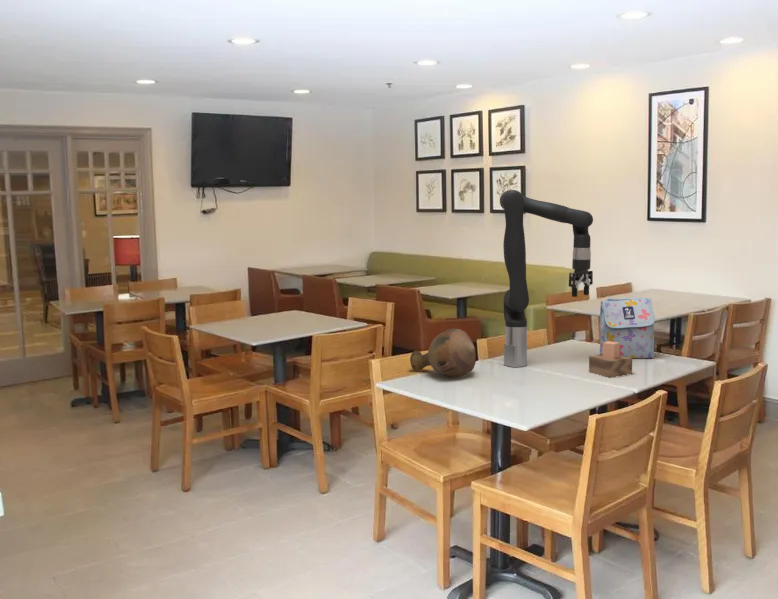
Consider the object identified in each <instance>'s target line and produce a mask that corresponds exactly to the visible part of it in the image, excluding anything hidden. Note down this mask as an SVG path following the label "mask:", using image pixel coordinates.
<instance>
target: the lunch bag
mask: <svg viewBox="0 0 778 599" xmlns="http://www.w3.org/2000/svg"><path fill="white" fill-rule="evenodd" d="M599 308H600V309H599V327H600V328H599V329H600V330H599V333H600V335H599V353H600V355H601V354H602V353H603V343H604V342H607V341H611V342H620V347H619V355H622V356H626V357H630V358H632V359H650V358H652V359H654V358H655V347H654V346H655V336H654V335H655V334H654V332H655V329H654V324H655V322H656V321H655V320H656V318H655V312H654V310H653V303H652V298H649V297H648V298H646V297H645V298H643V297H627V298H611V297H606V300H600V307H599Z"/></svg>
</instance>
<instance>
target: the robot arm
mask: <svg viewBox="0 0 778 599" xmlns="http://www.w3.org/2000/svg"><path fill="white" fill-rule="evenodd" d="M499 205H500V207H501V208H502V210H503V211H504V217H505V218H504V219H505V229H504V236H503V248H502V249H503V260H504V264H505V268H506V272H507V274H508V280H509V289H508V290H507V291H506V292H505V293H504V296H503V318H504V323H505V324H504V326H505V329H504V330H505V333H504V334H505V335H504V336H505V341H504V342H505V343H504V345H503V366H505V367H512V368H518V367H519V368H521V367H526V366H528V320H527V318H526V314H525V310H526V309H527V307H528V306H529V303H530V296H529V295H530V294H529V291H528V290H529V288H528V284H527V255H526V254H527V252H526V249H527V248H526V240H525V239H526V237H525V229H524V214H525V213H526V214H529V215H530V214H531V215H534V216H538V217H541V218H544V219H546V220H550V221H553V222H557V223H562V224H568V225H572V232H573V245H572V246H573V249H572V261H571V263H572V264H571V265H572V267H571V268H572V270H574V272H569V273H568V274H569V275H568V287H571V296H572V297H573V298H577V297H578V286H579V285H581V283H582V284H583V295H584V296H590V295H589V294H590V287H591V286H592V285H593V283H594V280H593V274H594V272H593V270H590V269H591V262H592V261H591V260H592V259H591V258H592V255H591V254H592V253H591V235H590V234H589V227H591V226H592V224H593V222H594V217H593V216H592V214H591V213H590V212H589V211H586V210H582V209H581V210H580V209H576V208H571V207H569V206H565V205H561V204H557V203H554V202H549V201H543V200H537V199H533V198H530V197H527V196H525V195H523V193H521V192H520V191H518V190H515V189H509V190H506V191H504V192H503V193H502V194H501V195H500V197H499Z"/></svg>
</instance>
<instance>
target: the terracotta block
mask: <svg viewBox="0 0 778 599" xmlns="http://www.w3.org/2000/svg"><path fill="white" fill-rule="evenodd" d="M619 347H620V342H611V341H607V342H604V343H603V353H602V358H610V359H615V358H618V357H619Z"/></svg>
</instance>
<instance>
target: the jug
mask: <svg viewBox="0 0 778 599" xmlns="http://www.w3.org/2000/svg"><path fill="white" fill-rule="evenodd" d="M476 358H477V357H476V348H475V345H474V342H473V341H472V338H471V337H470V335H469V334H468V333H467V332H466V331H465V330H462V329H460V328H449V329H446V330H445V331H443V332H441V333H440V334H438V335H436V336H435V337H434V338H433V339H432V341H431V343H430V344H429V346H428V350H427V352H426V353H424V354H422V352H421V351H419V350H414V351H413V352H412V353H411V355H410V357H409V360H410V366H411V368H412V369H413V371H414V372H415V373H417V372H418V371H421V370H422V369H424V368H426V367H429V366H431V368H432V369H433V371H435V372H436V373H438V374H440V375H442V376H446V377H451V378H456V377H457V378H458V377H461V376H465V375H467V374H470V373H471V372H472V371H473V370H474V368H475V366H476V363H477V362H476V361H477V360H476Z"/></svg>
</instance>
